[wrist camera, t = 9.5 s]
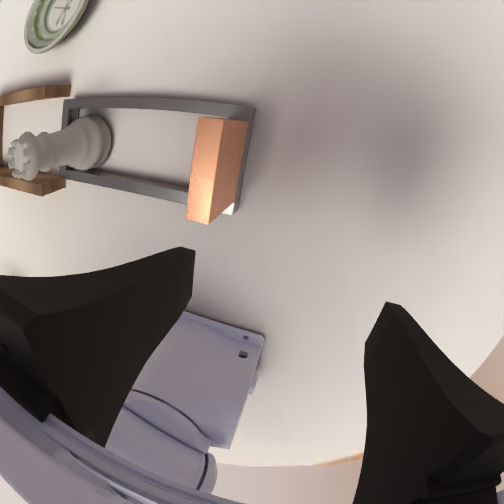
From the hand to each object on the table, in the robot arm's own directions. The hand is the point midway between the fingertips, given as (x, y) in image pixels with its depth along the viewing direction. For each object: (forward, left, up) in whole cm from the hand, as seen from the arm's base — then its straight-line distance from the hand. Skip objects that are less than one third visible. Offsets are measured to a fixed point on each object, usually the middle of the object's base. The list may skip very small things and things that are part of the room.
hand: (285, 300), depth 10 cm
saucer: (+24, -16, -10) cm, 30 cm away
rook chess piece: (+17, -3, -10) cm, 20 cm away
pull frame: (+12, -3, -9) cm, 16 cm away
